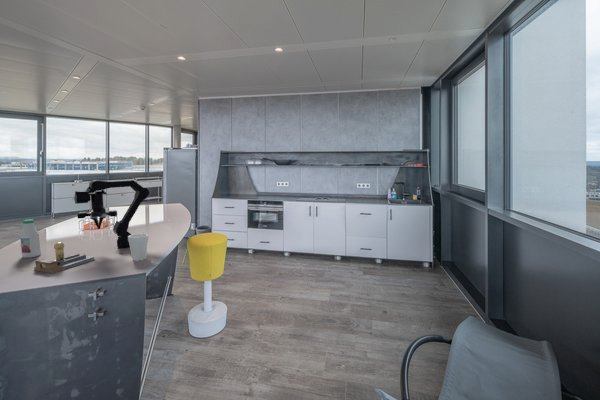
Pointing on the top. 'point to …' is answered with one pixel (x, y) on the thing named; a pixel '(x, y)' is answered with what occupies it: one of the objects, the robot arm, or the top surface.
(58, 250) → the brass ball knob
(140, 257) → the foam cup
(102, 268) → the top surface
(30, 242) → the milk bottle
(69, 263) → the grey railed plate
